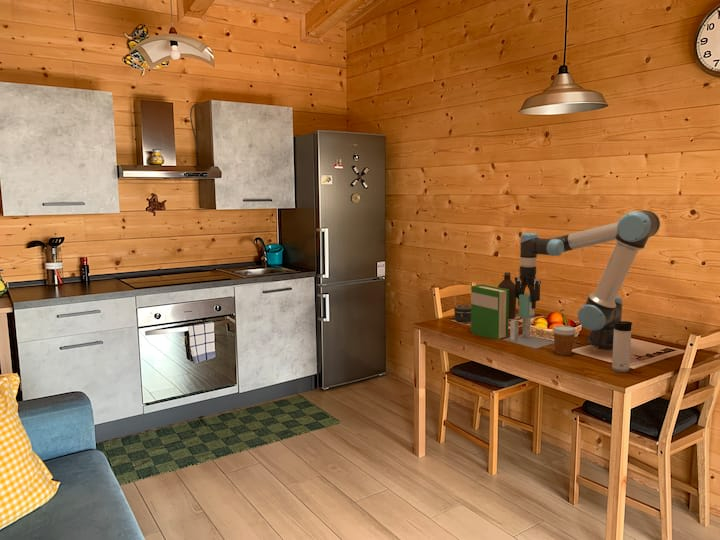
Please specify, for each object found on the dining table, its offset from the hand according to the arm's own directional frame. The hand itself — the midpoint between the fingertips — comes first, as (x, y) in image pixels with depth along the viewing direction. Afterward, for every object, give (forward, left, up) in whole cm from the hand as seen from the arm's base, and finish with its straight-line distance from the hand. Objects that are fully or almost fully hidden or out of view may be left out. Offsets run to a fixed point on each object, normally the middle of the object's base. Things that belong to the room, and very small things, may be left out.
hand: (526, 313), depth 268 cm
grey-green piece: (0, 0, -1) cm, 1 cm away
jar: (+44, -4, -12) cm, 46 cm away
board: (-5, +4, -12) cm, 14 cm away
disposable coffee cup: (-26, +8, -12) cm, 30 cm away
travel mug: (-52, +8, -12) cm, 54 cm away
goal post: (0, 0, -12) cm, 12 cm away
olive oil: (+34, -28, -12) cm, 45 cm away
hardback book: (+15, +9, -12) cm, 21 cm away
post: (0, +9, -12) cm, 15 cm away
